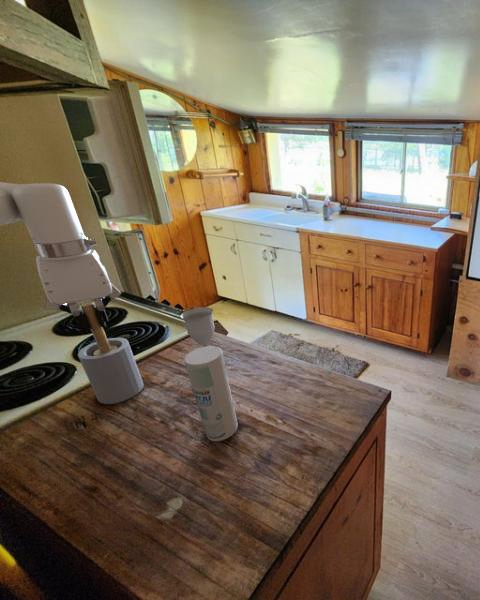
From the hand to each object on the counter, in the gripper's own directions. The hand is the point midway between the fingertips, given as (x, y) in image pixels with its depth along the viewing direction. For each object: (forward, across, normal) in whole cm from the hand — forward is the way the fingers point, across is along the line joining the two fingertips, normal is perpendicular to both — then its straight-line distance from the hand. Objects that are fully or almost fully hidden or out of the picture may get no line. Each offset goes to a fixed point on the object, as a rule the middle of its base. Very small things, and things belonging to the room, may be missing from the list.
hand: (95, 326), depth 74 cm
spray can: (+19, -16, +29) cm, 38 cm away
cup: (+19, 0, 0) cm, 19 cm away
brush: (+12, 0, 0) cm, 12 cm away
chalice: (+19, -19, +4) cm, 27 cm away
